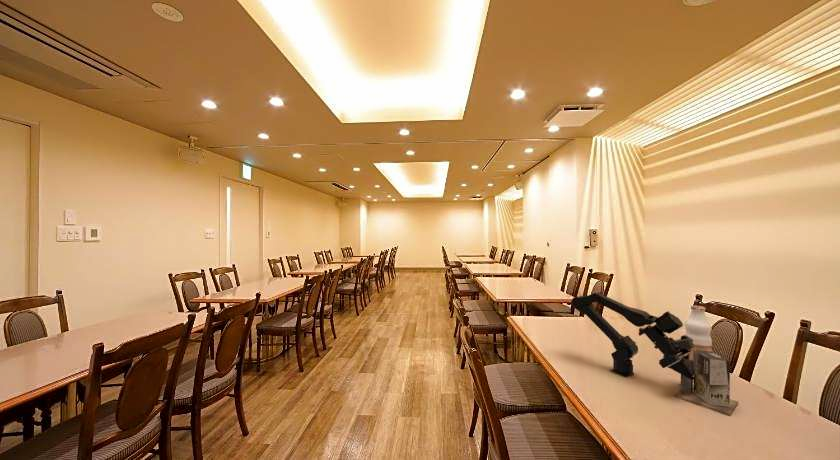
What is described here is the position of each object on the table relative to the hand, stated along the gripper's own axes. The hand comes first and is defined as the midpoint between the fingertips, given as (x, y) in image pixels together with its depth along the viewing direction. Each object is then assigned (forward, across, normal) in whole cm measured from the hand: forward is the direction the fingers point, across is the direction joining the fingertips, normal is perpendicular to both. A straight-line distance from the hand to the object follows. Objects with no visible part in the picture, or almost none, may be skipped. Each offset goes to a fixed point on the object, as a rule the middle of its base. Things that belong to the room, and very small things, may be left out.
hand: (695, 377), depth 119 cm
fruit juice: (+1, +32, +10) cm, 33 cm away
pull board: (+7, 0, +3) cm, 8 cm away
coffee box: (+8, 0, +2) cm, 8 cm away
